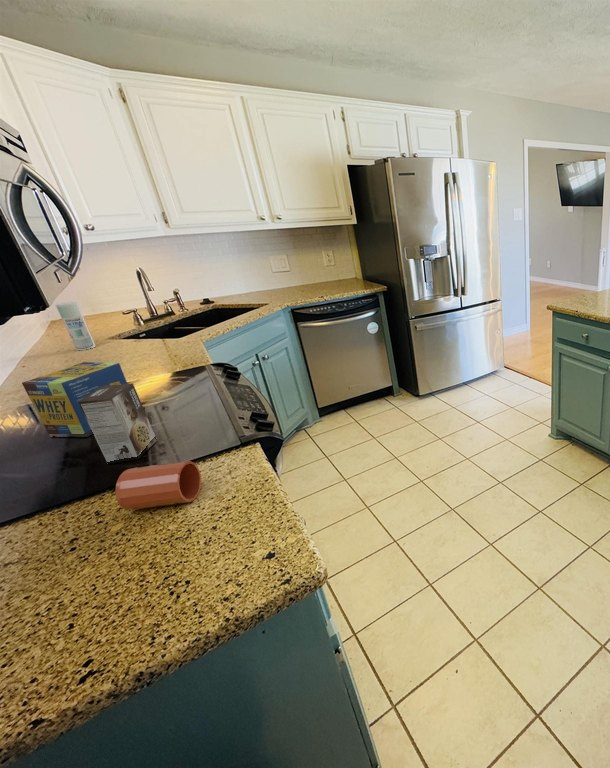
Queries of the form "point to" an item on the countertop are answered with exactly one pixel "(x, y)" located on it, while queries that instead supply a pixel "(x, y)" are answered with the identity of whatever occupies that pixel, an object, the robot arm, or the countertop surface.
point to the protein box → (70, 394)
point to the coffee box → (117, 421)
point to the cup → (158, 485)
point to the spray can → (75, 325)
